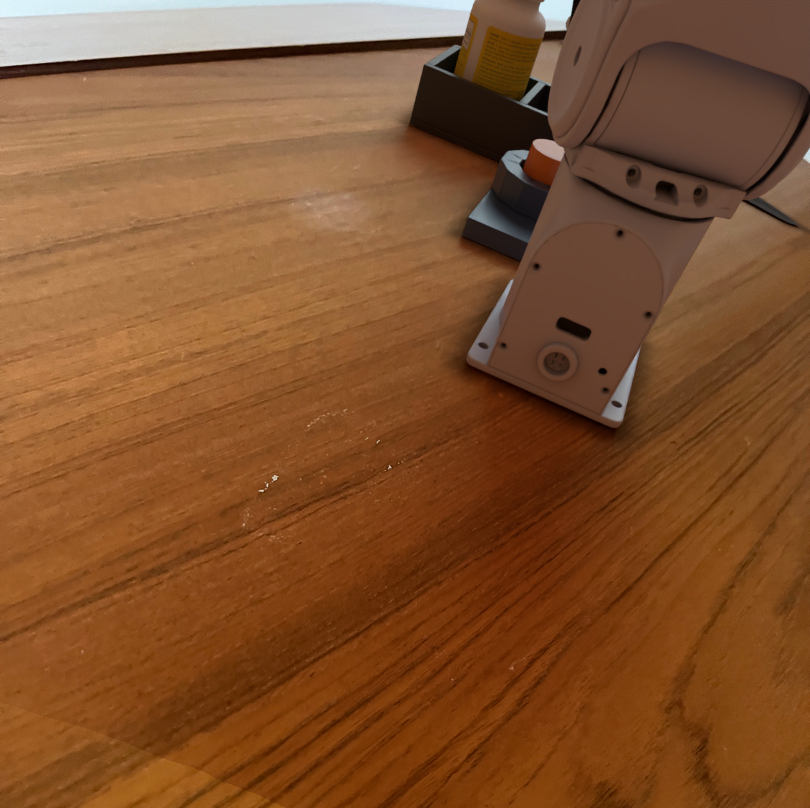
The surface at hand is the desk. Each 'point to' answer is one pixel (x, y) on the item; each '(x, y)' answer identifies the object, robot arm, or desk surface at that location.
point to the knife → (771, 210)
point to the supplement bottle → (501, 45)
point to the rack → (478, 110)
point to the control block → (508, 208)
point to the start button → (543, 160)
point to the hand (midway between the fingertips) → (584, 79)
